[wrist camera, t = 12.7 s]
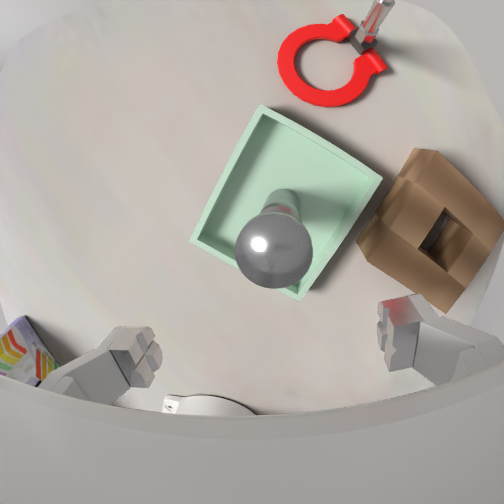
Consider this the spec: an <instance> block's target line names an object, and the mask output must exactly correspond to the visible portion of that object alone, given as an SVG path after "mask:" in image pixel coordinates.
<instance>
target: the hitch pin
mask: <svg viewBox="0 0 504 504" xmlns="http://www.w3.org/2000/svg"><path fill="white" fill-rule="evenodd" d="M235 258H236V262H237V265H238V267H239V269H240V270H241V272H242V273H243V274H244V275H245V276H246V277H247V278H248V279H249V280H250V281H252V282H253V283H255V284H257V285H259V286H262V287H265V288H273V289H277V288H284V287H288V286H291V285H293V284H295V283H296V282H298V281H299V280H300V279H302V278H303V277H304V276H305V274H306V273H307V272H308V270H309V268H310V266H311V263H312V259H313V247H312V241H311V237H310V235H309V233H308V231H307V229H306V228H305V226H304V225H303V224H302V221H301V207H300V201H299V198H298V196H297V195H296V194H295V193H294V192H293V191H291V190H288V189H277V190H275V191H273V192H272V193H270V195H269V196H268V197H267V199H266V201H265V203H264V206H263V208H262V210H261V212H260V214H259V215H257V216H255V217H253V218H252V219H251V220H249V221H248V222H247V223H246V224H245V226H244V227H243V228H242V230H241V232H240V234H239V235H238V237H237V240H236V244H235Z"/></svg>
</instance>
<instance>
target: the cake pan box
mask: <svg viewBox="0 0 504 504" xmlns="http://www.w3.org/2000/svg"><path fill="white" fill-rule="evenodd" d="M59 367H60V366H59V365H58V363H57V362H56V361H55V359H54V358H53V357H52V355H51V354H50V353H49V351H48V350H47V349H46V347H45V346H44V344H43V343H42V342H41V340H40V339H39V337H38V336H37V334H36V333H35V331H34V330H33V328H32V327H31V325H30V324H29V322H28V321H27V319H26V317H25V316H22V317H19V318H17V319H16V320H15V321H14V322H12V323H11V324H10V325H9V326H8V327H7V328H6V329H5V330H4V331H3V332H2V333H1V334H0V375H3V376H5V377H8V378H11V379H13V380H16V381H19V382H22V383H25V384H28V385H31V386H34V387H38V386H39V385H40V384H41V383H42V381H43V380H44V379H45V378H46V377H47V376H48V374H49V373H50V372H52V371H54V370H56V369H58V368H59Z"/></svg>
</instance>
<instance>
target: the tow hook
mask: <svg viewBox="0 0 504 504" xmlns="http://www.w3.org/2000/svg"><path fill="white" fill-rule="evenodd" d="M394 4H395V1H394V0H374V2H373V4H372V6H371V8H370V10H369V12H368V14H367V16H366V18H365V20H363V21H362V23H361V25H360V27H358V28H356V27H355V26H354V25H353V24H352V23H351V22H350V21H349V20H348V19H347V18H346V17H345V15H344V14H341V15H339V16H337V17H336V18H334V19H333V22H332V23H330V24H328V25H326V24H313V25H307V26H304V27H302V28H299V29H297V30H296V31H294V32H293V33H291V34H290V35H289V36H288V37H287V38H286V39H285V40H284V42H283V43H282V45H281V47H280V50H279V52H278V61H277V64H278V69H279V74H280V76H281V78H282V80H283V82H284V84H285V85H286V86H287V88H288V89H289V90H290V91H291V92H292V93H293V94H294V95H295V96H297V97H298V98H300V99H301V100H303V101H305V102H307V103H310V104H312V105H315V106H322V107H336V106H341V105H344V104H347V103H350V102H351V101H353V100H354V99H355V98H357V97H358V96H360V95H361V93H362V92H363V91H364V90H365V88H366V87H367V84H368V82H369V79H370V76H372V75H374V74H375V73H376V74H379V73H381V72H383V71H384V70H386V69H387V68H388V67H387V65H386V64H385V63H384V61H383V60H382V59H381V57H380V56H379V55H378V53H377V52H376V51H375V50H374V47H375V46H376V45H377V44H378V42H377V41H376V40H375V37H376V35H377V33H378V31H379V27H380V25H381V24H382V22H383V21H384V19H385V18H386V16H387V15H388V13H389V12H390V10H391V9H392V7H393V6H394ZM346 38H347V40H348V41H349V42H350V43H351V44H352V46H353V47H354V48H355V49H356V50H357V52H358V53H359V54H360V55H361V56H360V57H358V58H357V59H355V60H354V63H353V64H354V73H353V76H352V78H351V80H350V81H349V83H348V84H346V85H345V86H343V87H342V88H339V89H336V90H331V91H324V90H318V89H316V88H313V87H311V86H309V85H308V84H306V83H305V82H304V81H303V80H302V79H301V78H300V77H299V75H298V73H297V71H296V69H295V65H294V63H295V56H296V54H297V52H298V50H299V49H300V48H301V47H302V46H303V45H304V44H306V43H307V42H310V41H313V40H318V39H325V40H331V41H333V42H340V41H342V40H344V39H346Z"/></svg>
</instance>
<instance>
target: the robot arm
mask: <svg viewBox="0 0 504 504" xmlns="http://www.w3.org/2000/svg"><path fill="white" fill-rule="evenodd" d="M378 315H379V317H380V321H379V322H378V324H377V336H378V342H379V346H380V349H381V350H382V351H384V352H385V355H384V360H385V362H386V365H387V367H388V370H389V372H391V371H396V370H401V369H406V368H410V367H413V369H415V370H416V371H418V372H419V373H420V374H422V375H423V376H424V377H426V378H427V379H429V380H430V381H431V382H433V383H434V384H435V385H437V386H436V387H432V388H429V389H426V390H422V391H418V392H415V393H411V394H407V395H403V396H399V397H395V398H391V399H387V400H382V401H377V402H372V403H367V404H362V405H356V406H350V407H344V408H337V409H330V410H322V411H314V412H304V413H293V414H279V415H258V416H256V415H255V414H254V413H253V412H251V411H250V410H248V409H247V408H245V407H243V406H242V405H240V404H237V403H235V402H232V401H230V400H226V399H223V398H219V397H213V396H203V395H198V396H190V397H178V396H171V395H168V396H166V397H165V399H164V403H163V411H162V412H153V411H145V410H137V409H130V408H124V407H117V406H112V405H110V404H112V403H113V402H114V401H115V400H116V399H118V398H119V397H120V396H121V395H123V394H124V393H125V392H126V391H127V390H129V389H130V387H139V388H149V386H150V385H151V383H152V381H153V379H154V377H155V375H154V372H155V371H156V370H158V369H159V368H160V366H161V364H162V351H161V348H160V346H159V345H158V344H157V343H156V342H155V341H154V338H155V335H154V333H153V330H152V329H151V328H150V327H148V326H142V327H126V326H125V327H115V328H114V329H113V330H112V332H111V333H110V334H109V335H108V336H107V338H106V339H105V340H104V341H103V342H102V343H101V345H100V346H99V347H98V348H97V349H93V350H91V351H90V352H88V353H86V354H84V355H82V356H80V357H78V358H76V359H74V360H73V361H71V362H69V363H67V364H65V365H63V366H61V367H59V368H58V369H56V370H54V371H52V372H50V373H49V374H48V376H47V377H46V378H45V379H44V380H43V381H42V383H41V384H40V385H39V386H38V387H34V386H31V385H28V384H25V383H22V382H19V381H16V380H13V379H11V378H8V377H5V376H3V375H0V504H504V345H503V344H502V343H501V341H500V340H499V339H498V338H497V337H495V336H492V335H490V334H487V333H485V332H482V331H480V330H477V329H474V328H472V327H469V326H467V325H464V324H462V323H459V322H456V321H454V320H451V319H449V318H446V317H443V316H441V317H438V315H437V314H436V313H435V311H434V310H433V309H432V307H431V306H430V305H429V303H428V302H427V301H426V300H425V298H424V297H423V296H422V295H421V294H420V293H416V294H412V295H408V296H405V297H400V298H396V299H391V300H386V301H382V302H379V303H378Z"/></svg>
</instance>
